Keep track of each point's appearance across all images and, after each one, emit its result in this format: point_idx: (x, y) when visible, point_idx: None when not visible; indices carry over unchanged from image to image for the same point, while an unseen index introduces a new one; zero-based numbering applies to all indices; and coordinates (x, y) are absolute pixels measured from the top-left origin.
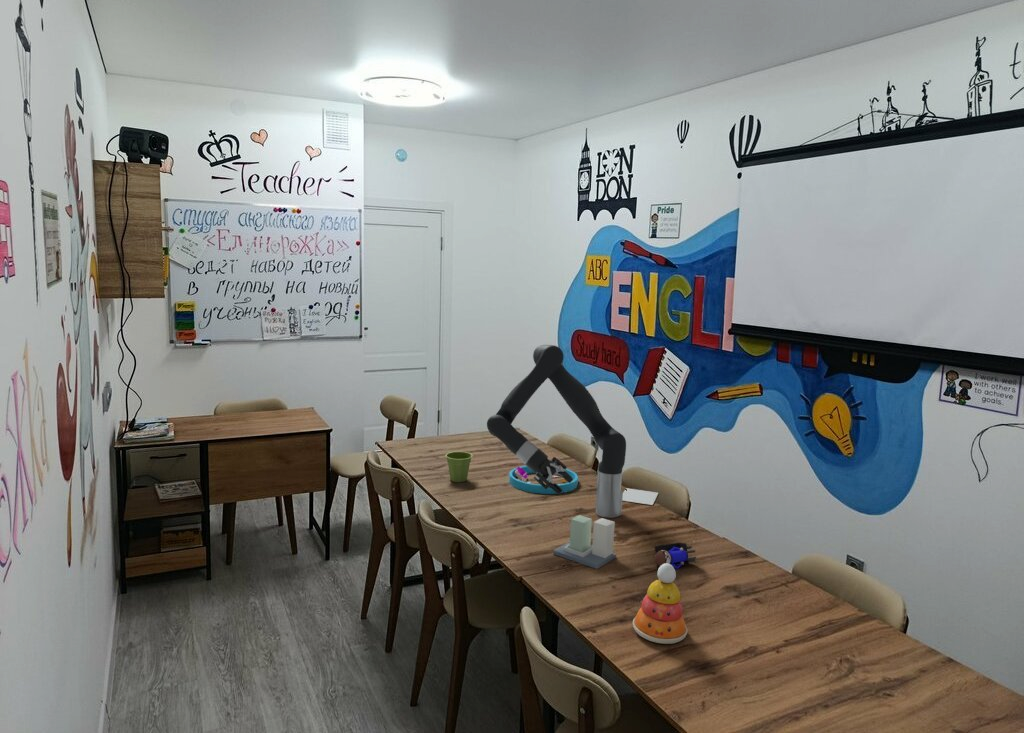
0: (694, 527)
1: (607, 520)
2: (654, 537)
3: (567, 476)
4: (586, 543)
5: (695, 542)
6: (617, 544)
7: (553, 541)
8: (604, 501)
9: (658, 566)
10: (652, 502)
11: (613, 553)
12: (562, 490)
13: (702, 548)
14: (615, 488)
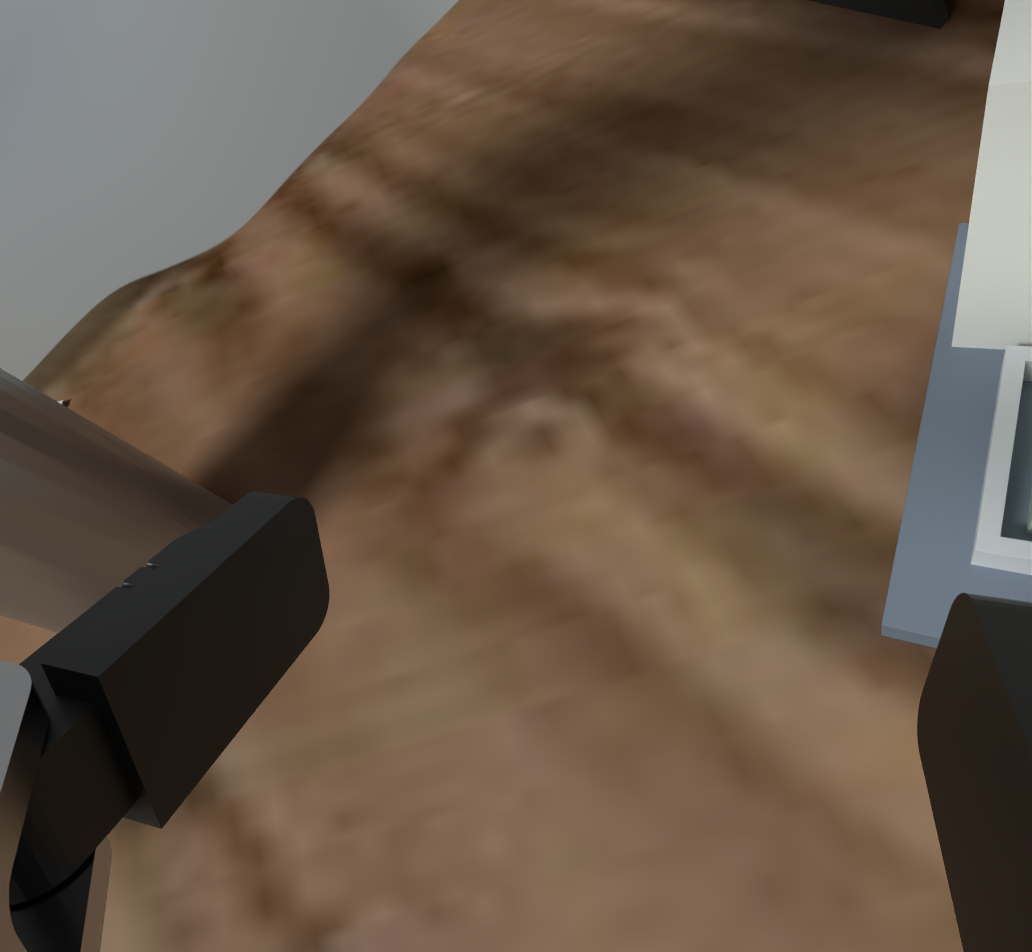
0: (301, 166)
1: (1028, 12)
2: (479, 228)
3: (217, 610)
4: None
5: (475, 86)
6: (691, 332)
7: None
8: (148, 531)
9: (943, 12)
10: None
11: (965, 238)
12: (972, 596)
13: (536, 39)
14: (51, 404)
